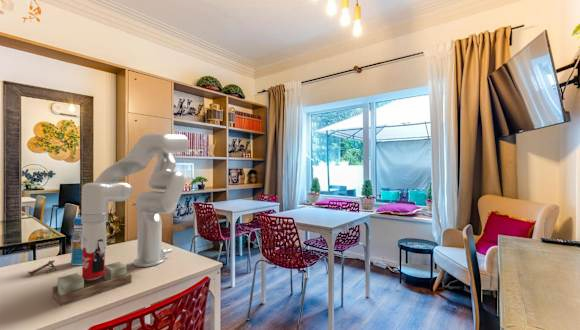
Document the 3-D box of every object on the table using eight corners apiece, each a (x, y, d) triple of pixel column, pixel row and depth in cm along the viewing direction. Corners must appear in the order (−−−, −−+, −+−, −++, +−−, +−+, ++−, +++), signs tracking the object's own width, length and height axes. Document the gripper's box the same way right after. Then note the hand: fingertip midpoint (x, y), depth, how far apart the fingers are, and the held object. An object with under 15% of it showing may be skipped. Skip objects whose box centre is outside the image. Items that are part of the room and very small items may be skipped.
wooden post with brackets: (59, 268, 106) (53, 259, 105) (34, 282, 101) (27, 272, 100) (59, 267, 107) (53, 258, 106) (34, 280, 102) (27, 271, 101)
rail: (119, 275, 103) (119, 260, 103) (131, 282, 97) (131, 266, 97) (52, 295, 86) (52, 277, 86) (61, 305, 80) (61, 286, 80)
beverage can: (90, 274, 94) (90, 240, 94) (108, 273, 95) (108, 240, 95) (77, 281, 88) (78, 246, 88) (97, 281, 88) (97, 246, 88)
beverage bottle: (67, 263, 114) (68, 217, 114) (91, 257, 121) (91, 214, 121) (73, 267, 109) (74, 220, 109) (97, 262, 116) (98, 217, 116)
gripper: (73, 216, 93) (72, 266, 93) (91, 223, 83) (90, 279, 83) (98, 213, 100) (97, 260, 99) (117, 219, 89) (116, 272, 89)
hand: (93, 268), depth 91 cm, fingers closed on beverage can, 6 cm apart
